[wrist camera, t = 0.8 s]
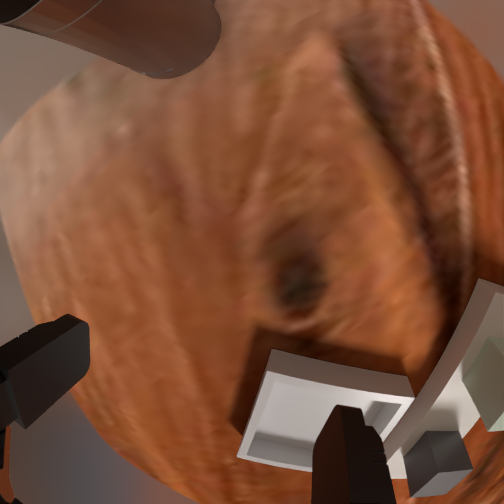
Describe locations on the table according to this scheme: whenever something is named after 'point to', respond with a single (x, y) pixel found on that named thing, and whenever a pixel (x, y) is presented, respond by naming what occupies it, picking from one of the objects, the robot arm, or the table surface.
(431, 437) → the block
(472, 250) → the table surface
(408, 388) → the tray
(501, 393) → the block
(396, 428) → the flat gray board
